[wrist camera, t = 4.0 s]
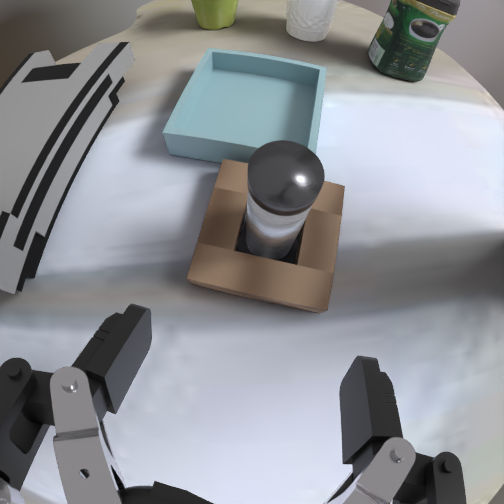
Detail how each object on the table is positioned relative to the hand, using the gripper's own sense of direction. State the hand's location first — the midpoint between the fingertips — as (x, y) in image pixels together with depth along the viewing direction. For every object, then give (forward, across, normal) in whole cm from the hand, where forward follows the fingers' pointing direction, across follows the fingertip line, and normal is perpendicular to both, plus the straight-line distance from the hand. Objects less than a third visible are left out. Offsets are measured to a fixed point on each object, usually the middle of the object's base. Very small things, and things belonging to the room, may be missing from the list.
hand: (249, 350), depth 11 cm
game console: (+22, +33, +2) cm, 39 cm away
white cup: (+45, +1, -22) cm, 50 cm away
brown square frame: (+18, 0, +4) cm, 19 cm away
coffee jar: (+43, -14, -20) cm, 49 cm away
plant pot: (+44, +16, -21) cm, 52 cm away
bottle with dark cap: (+18, 0, +4) cm, 19 cm away
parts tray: (+29, +5, -6) cm, 30 cm away
